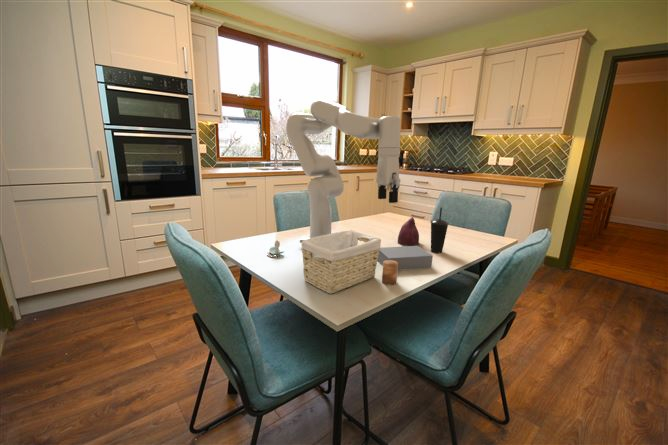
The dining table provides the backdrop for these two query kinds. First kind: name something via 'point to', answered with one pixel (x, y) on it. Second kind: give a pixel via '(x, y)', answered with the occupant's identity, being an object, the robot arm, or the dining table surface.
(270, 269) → the dining table surface
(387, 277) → the cylinder
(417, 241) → the vegetable
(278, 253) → the pacifier
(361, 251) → the storage basket
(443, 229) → the drinking cup
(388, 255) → the stand
